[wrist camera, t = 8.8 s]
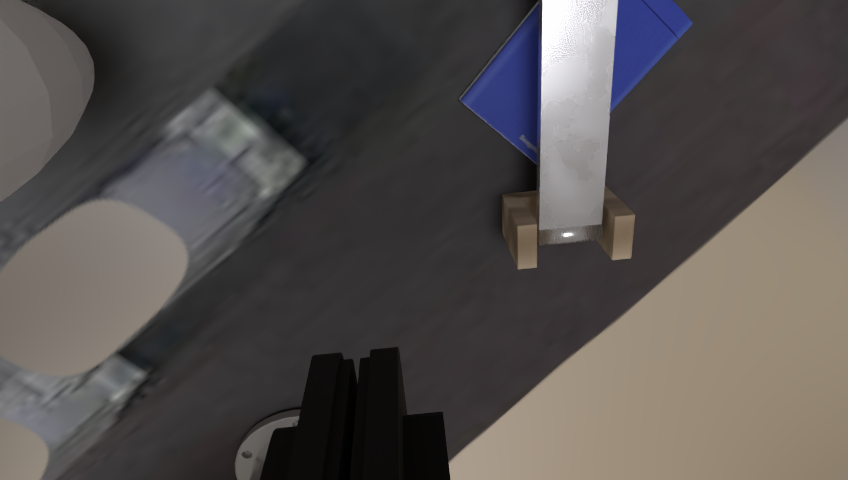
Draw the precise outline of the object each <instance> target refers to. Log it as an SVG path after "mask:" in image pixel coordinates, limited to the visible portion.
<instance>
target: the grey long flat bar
mask: <svg viewBox="0 0 848 480" xmlns="http://www.w3.org/2000/svg"><path fill="white" fill-rule="evenodd" d="M617 7H618V0H539V38H538V121H537V204H536V223H537V245H538V246H546V245H556V244H567V243H577V242H587V241H598V240H601V239H602V237H603V227H602V215H603V202H604V188H605V174H606V160H607V146H608V132H609V118H610V104H611V91H612V77H613V63H614V49H615V35H616V21H617Z"/></svg>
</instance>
